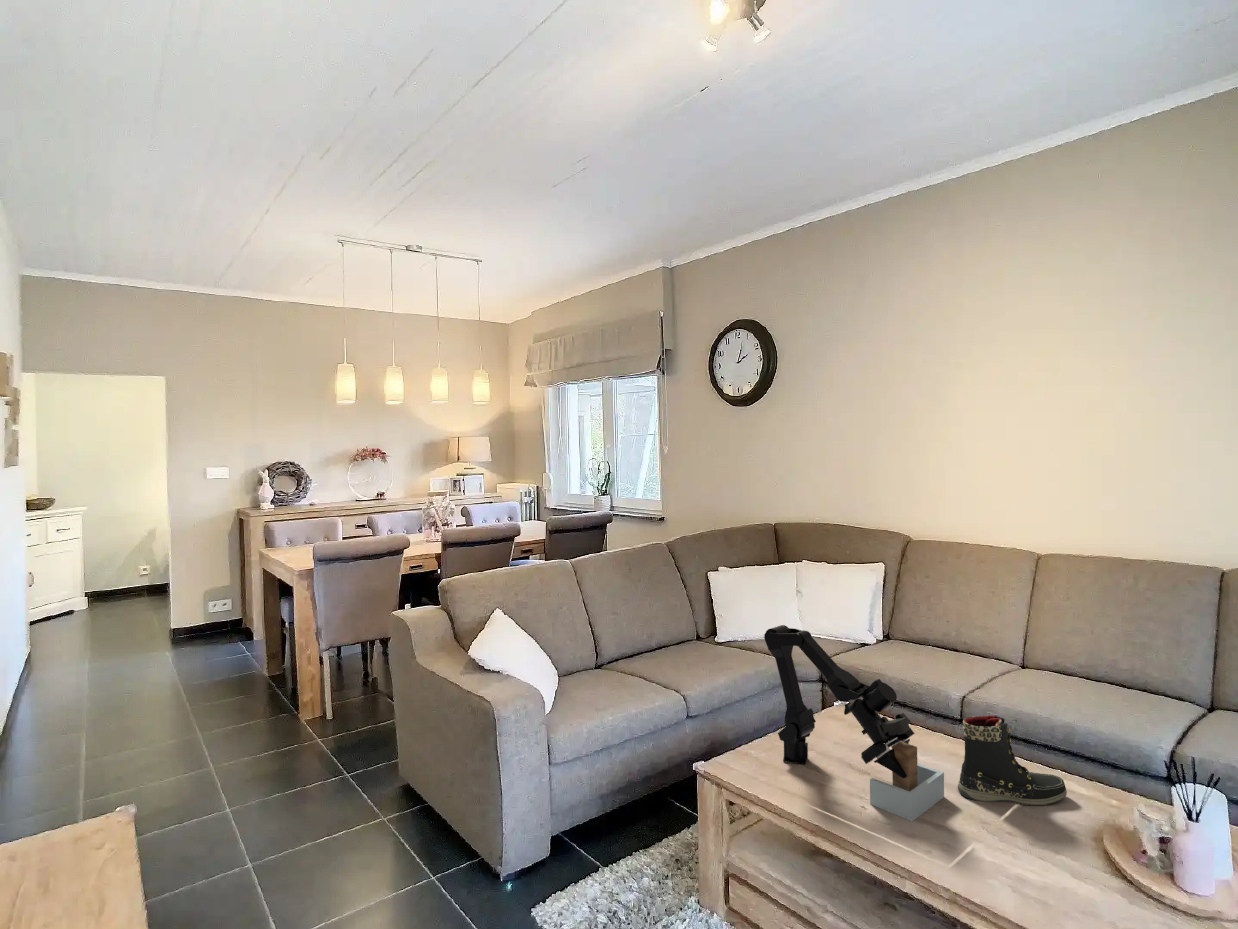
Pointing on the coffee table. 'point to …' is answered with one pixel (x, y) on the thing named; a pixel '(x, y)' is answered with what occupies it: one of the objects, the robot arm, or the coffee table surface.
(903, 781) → the walnut block
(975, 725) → the boot
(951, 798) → the coffee table surface
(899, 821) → the coffee table surface
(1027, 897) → the coffee table surface
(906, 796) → the crate
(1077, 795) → the coffee table surface
